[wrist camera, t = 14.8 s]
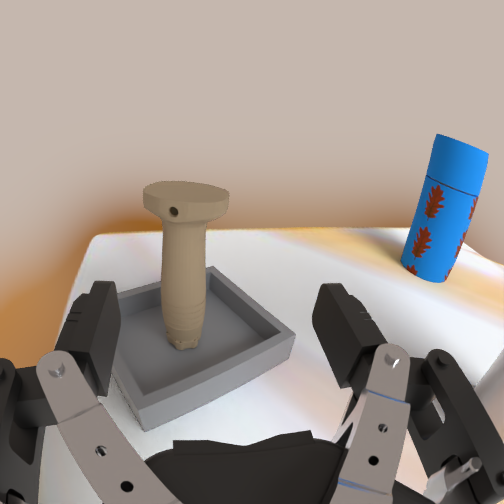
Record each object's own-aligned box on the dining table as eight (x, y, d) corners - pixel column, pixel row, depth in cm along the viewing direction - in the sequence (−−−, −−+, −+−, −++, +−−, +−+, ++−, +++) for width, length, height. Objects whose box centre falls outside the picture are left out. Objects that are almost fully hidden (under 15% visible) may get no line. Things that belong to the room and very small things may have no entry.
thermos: (389, 258, 54) (425, 129, 42) (416, 251, 59) (449, 139, 47) (432, 288, 46) (480, 148, 34) (455, 276, 51) (495, 157, 39)
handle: (163, 318, 31) (160, 178, 24) (221, 332, 31) (235, 188, 24) (145, 348, 27) (132, 194, 20) (209, 365, 26) (219, 207, 19)
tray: (211, 289, 39) (213, 265, 37) (288, 358, 30) (295, 334, 28) (91, 328, 29) (84, 302, 27) (144, 431, 20) (138, 410, 18)
